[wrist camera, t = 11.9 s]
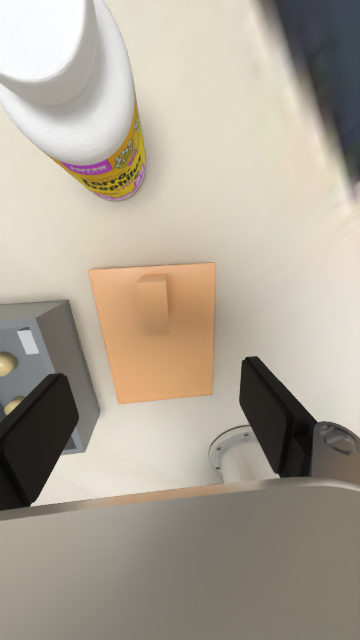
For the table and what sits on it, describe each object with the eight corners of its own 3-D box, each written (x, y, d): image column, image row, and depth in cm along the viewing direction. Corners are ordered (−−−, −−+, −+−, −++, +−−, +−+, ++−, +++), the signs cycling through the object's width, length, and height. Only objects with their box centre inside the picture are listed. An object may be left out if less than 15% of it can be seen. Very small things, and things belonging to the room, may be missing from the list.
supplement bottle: (99, 213, 19) (-12, 152, 7) (59, 134, 16) (-225, -178, 4) (158, 185, 18) (151, 69, 6) (126, 100, 16) (18, -346, 4)
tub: (100, 412, 28) (84, 452, 23) (12, 421, 27) (-27, 465, 22) (68, 300, 22) (35, 317, 16) (-50, 308, 21) (-128, 330, 15)
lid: (209, 384, 29) (222, 424, 22) (121, 393, 28) (109, 438, 21) (210, 261, 22) (231, 267, 15) (94, 268, 21) (64, 277, 14)
